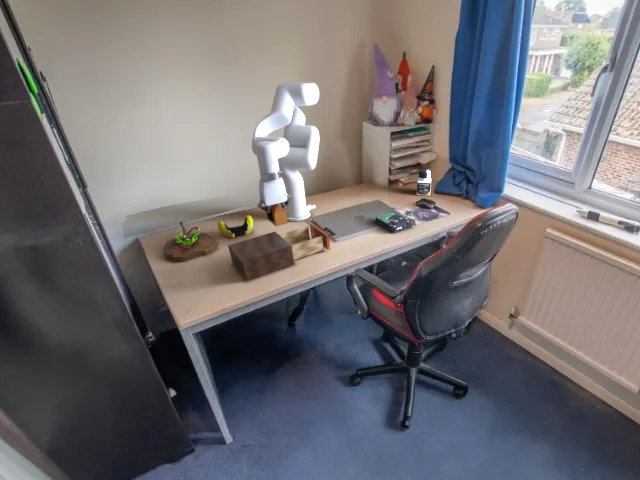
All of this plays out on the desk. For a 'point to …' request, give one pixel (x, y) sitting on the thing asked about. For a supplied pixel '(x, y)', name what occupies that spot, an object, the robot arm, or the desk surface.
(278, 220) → the brown rounded block
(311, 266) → the desk surface
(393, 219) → the disk drive
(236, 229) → the gaming controller
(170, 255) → the plant
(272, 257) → the cabinet
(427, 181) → the medicine bottle
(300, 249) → the drawer
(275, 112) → the robot arm
